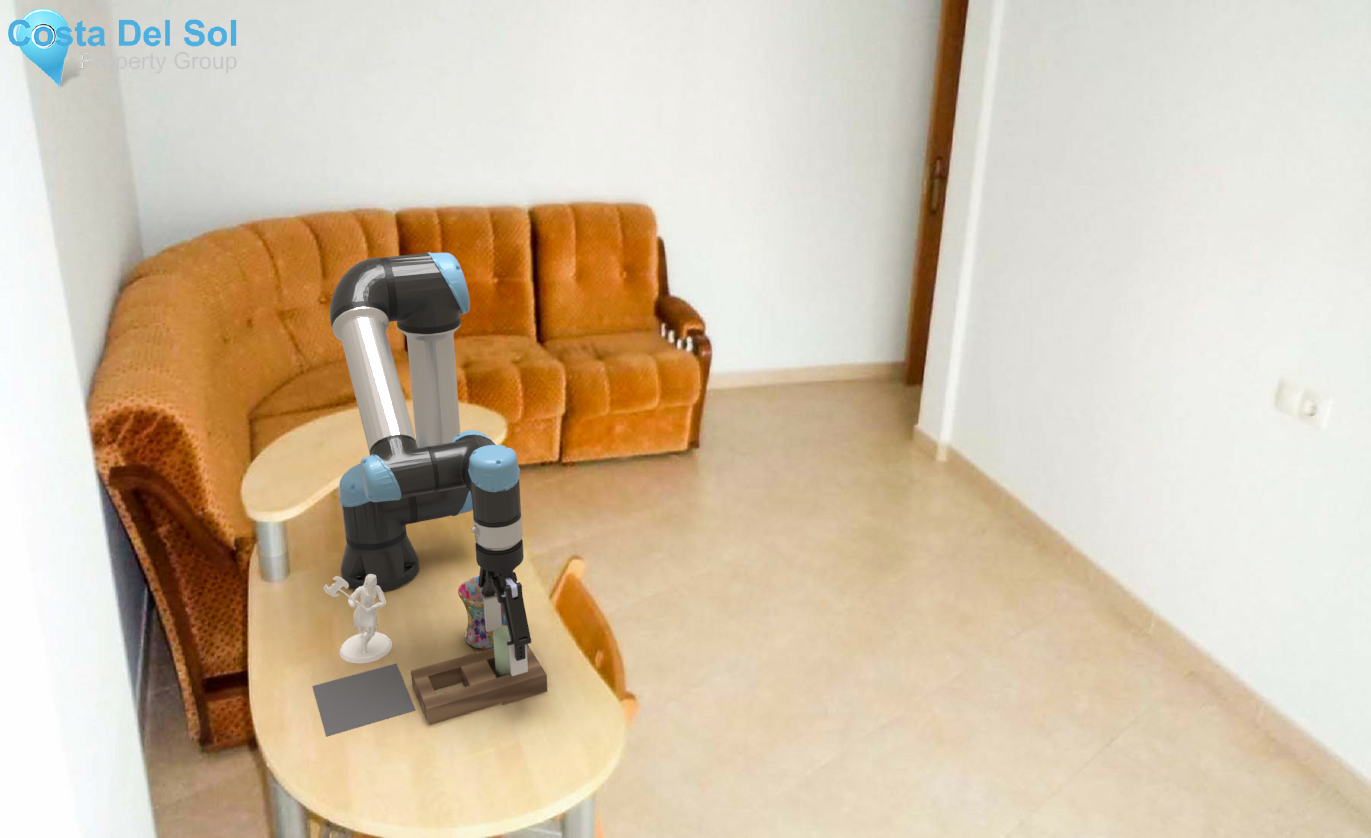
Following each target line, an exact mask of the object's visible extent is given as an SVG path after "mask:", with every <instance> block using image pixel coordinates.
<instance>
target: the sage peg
mask: <svg viewBox="0 0 1371 838" xmlns="http://www.w3.org/2000/svg"><path fill="white" fill-rule="evenodd" d="M493 640H494V655H495V669H496V674H495V676H496V678H499V677H502V676H505V675H509V674H511V671H510V655H509V646H508V645H507V642H508V641H509V640H511V639H510V635H509V631H508V627H507V626H501V627H498V628H496V629H495V630H494V632H493Z"/></svg>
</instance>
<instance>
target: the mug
mask: <svg viewBox="0 0 1371 838" xmlns="http://www.w3.org/2000/svg"><path fill="white" fill-rule="evenodd" d="M478 583H479V575H476V576H474V577H471V578H468V579H467V580H465V581H464V582H462V583H461V585H459V587H458V590H457V593H458V597H459V598H460V600H461V601H462V603H463V605H464V607H465V610H466V614H467V625H466V629H465V632H464V635H463V636H464V637H463V638H464V640H465V642H466V644H468V645H469V646H471V647H473V648H476V649H477V648H478V649H485V650H488V649H492V648H494V640H493V632H494V630H493V631H490V632H487V631H486V627H485V614H484V600H483V598H485V596H483V595H482V589H483V587H482V588H480V587H479V585H478ZM495 595H496V593H495ZM501 596H502V597H506V595H501ZM500 605H501V620H502V626H507V623H506V619H505V615H504V611H503V607H502V604H501V603H500Z"/></svg>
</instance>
